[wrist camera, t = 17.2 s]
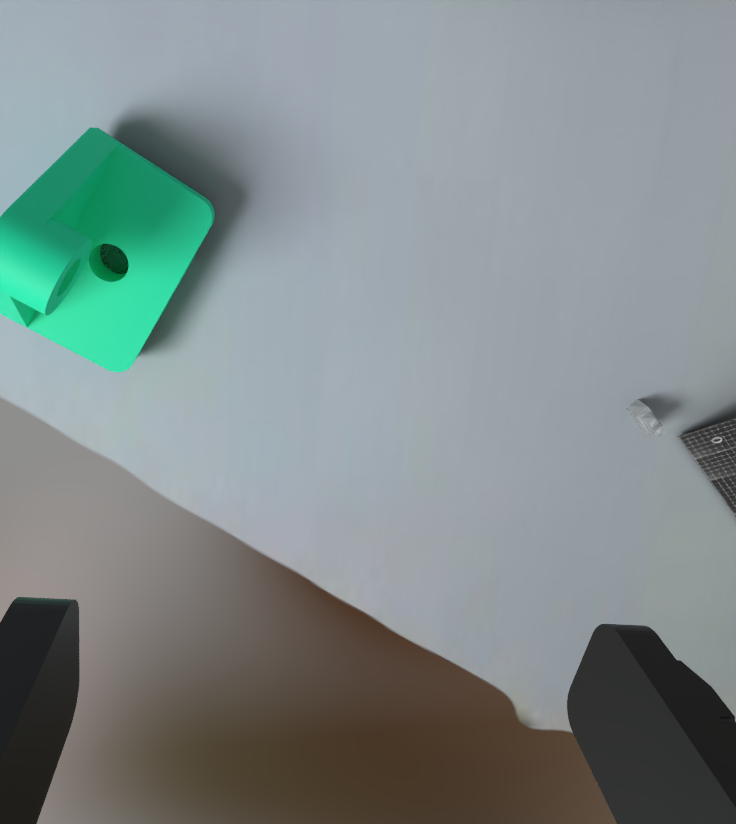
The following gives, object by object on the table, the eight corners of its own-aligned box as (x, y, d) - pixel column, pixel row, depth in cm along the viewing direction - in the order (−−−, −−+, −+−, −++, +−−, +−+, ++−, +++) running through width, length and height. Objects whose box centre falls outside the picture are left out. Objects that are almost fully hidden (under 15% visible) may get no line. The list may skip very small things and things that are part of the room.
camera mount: (133, 364, 41) (88, 431, 31) (18, 303, 38) (-68, 356, 29) (223, 206, 37) (202, 228, 28) (103, 128, 35) (37, 124, 26)
